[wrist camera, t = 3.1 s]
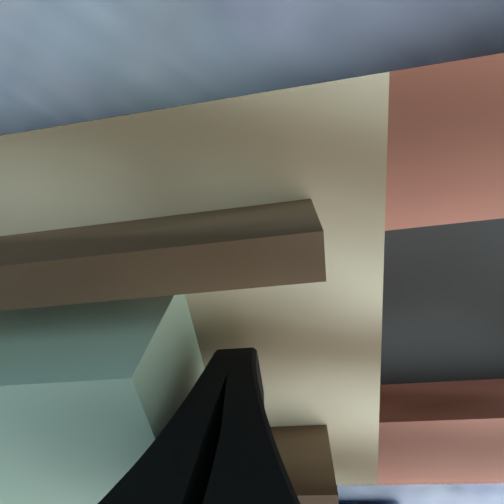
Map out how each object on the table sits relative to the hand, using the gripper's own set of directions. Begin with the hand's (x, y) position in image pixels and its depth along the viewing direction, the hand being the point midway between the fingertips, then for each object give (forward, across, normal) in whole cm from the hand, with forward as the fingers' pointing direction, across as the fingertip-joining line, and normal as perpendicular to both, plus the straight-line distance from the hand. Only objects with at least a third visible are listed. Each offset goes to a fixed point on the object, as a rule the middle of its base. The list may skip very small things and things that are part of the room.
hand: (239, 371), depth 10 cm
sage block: (+1, +5, 0) cm, 5 cm away
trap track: (+3, +2, 0) cm, 3 cm away
